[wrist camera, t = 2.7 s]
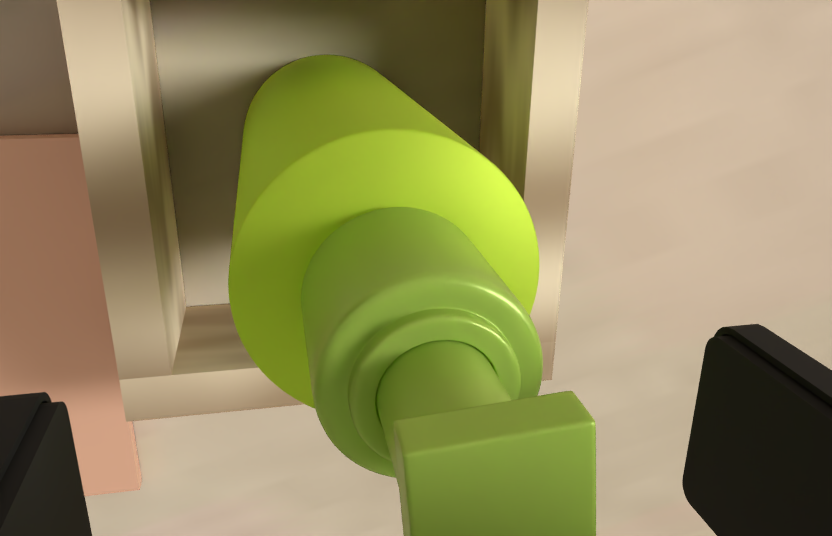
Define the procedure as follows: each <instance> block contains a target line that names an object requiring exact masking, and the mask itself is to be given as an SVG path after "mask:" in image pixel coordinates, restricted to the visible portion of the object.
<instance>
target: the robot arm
mask: <svg viewBox="0 0 832 536" xmlns="http://www.w3.org/2000/svg"><path fill="white" fill-rule="evenodd" d="M683 490H684V493H685V496H686V498H687V500H688V502H689V503H690V505H691V506H692V507H693V508H694V509H695V511H696V512H697V513H698V514H699V515H700V516H701V518H702V519H703V520H704V521H705V522H706V523H707V524H708V526H709V527H710V528H711V529H712V530H713V531H714V533H715V534H716V535H717V536H832V370H830V369H828V368H827V367H825V366H824V365H822V364H821V363H819V362H818V361H816V360H815V359H813V358H811V357H810V356H808V355H807V354H805V353H804V352H802V351H801V350H799V349H798V348H796V347H794V346H793V345H791V344H790V343H788V342H787V341H785V340H784V339H782V338H781V337H779V336H777V335H776V334H774V333H773V332H771V331H770V330H768V329H767V328H765V327H764V326H761V325H759V324H751V325H741V326H730V327H722V328H721V329H719V330H718V331H717V332H716V334H715V335H714V337H713V338H711V339H709V341H708V342H707V344H706V348H705V353H704V359H703V365H702V370H701V376H700V382H699V388H698V393H697V399H696V405H695V411H694V416H693V422H692V428H691V434H690V439H689V445H688V451H687V457H686V462H685V468H684V474H683ZM0 536H92V533H91V528H90V522H89V517H88V512H87V507H86V502H85V497H84V491H83V486H82V481H81V476H80V471H79V465H78V460H77V455H76V450H75V445H74V440H73V434H72V429H71V424H70V419H69V414H68V410H67V406H66V404H65V403H64V402H63V401H61V402H52V401H51V399H50V397H49V395H48V394H47V393H46V392H39V393H29V394H18V395H8V396H0Z"/></svg>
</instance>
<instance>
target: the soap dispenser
mask: <svg viewBox="0 0 832 536" xmlns="http://www.w3.org/2000/svg"><path fill="white" fill-rule="evenodd" d="M538 280H539V248H538V241H537V236H536V232H535V228H534V224H533V222H532V219H531V216H530V213H529V211H528V209H527V207H526V205H525V203H524V201H523V199H522V197H521V196H520V194H519V192H518V191H517V189H516V188H515V187H514V185H513V184H512V183H511V181H510V180H509V179H508V178H507V177H506V175H505V174H504V173H503V172H502V171H501V170H500V169H499V168H498V167H497V166H496V165H495V164H493V163H492V162H491V161H490V160H489V159H487V158H486V157H485V156H484V155H482V154H481V153H480V152H478V151H477V150H476V149H475V148H473V147H472V146H471V145H470V144H468V143H467V142H466V141H465V140H463V139H462V138H461V137H459V136H458V135H457V134H456V133H454V132H453V131H452V130H451V129H449V128H448V127H447V126H446V125H444V124H443V123H442V122H440V121H439V120H438V119H437V118H435V117H434V116H433V115H432V114H430V113H429V112H428V111H427V110H425V109H424V108H423V107H421V106H420V105H419V104H418V103H416V102H415V101H414V100H413V99H411V98H410V97H409V96H408V95H406V94H405V93H404V92H402V91H401V90H400V89H399V88H397V87H396V86H395V85H394V84H392V83H391V82H390V81H389V80H387V79H386V78H385V77H383V76H382V75H381V74H380V73H378V72H377V71H376V70H374V69H373V68H371V67H369V66H368V65H366V64H364V63H362V62H359V61H357V60H354V59H351V58H347V57H343V56H337V55H316V56H310V57H306V58H302V59H299V60H296V61H294V62H292V63H290V64H288V65H286V66H284V67H282V68H281V69H279V70H278V71H276V72H275V73H274V74H273V75H272V76H270V77H269V78H268V79H267V80H266V81H265V82H264V83H263V85H262V86H261V87H260V89H259V90H258V91H257V93H256V94H255V96H254V98H253V100H252V102H251V104H250V106H249V109H248V112H247V115H246V118H245V123H244V131H243V140H242V150H241V159H240V169H239V179H238V188H237V198H236V207H235V217H234V227H233V236H232V246H231V255H230V265H229V279H228V287H229V300H230V307H231V312H232V316H233V320H234V323H235V326H236V329H237V332H238V334H239V337H240V339H241V341H242V343H243V345H244V347H245V349H246V350H247V352H248V354H249V355H250V357H251V358H252V360H253V361H254V362H255V364H256V365H257V366H258V368H259V369H260V370H261V371H262V372H263V373H264V374H265V375H266V377H268V378H269V379H270V380H271V381H272V382H273V383H274V384H275V385H276V386H277V387H279V388H280V389H281V390H283V391H284V392H285V393H287V394H288V395H290V396H291V397H293V398H295V399H296V400H298V401H300V402H302V403H304V404H306V405H308V406H310V407H313V408H315V409H316V412H317V415H318V418H319V420H320V422H321V424H322V427H323V428H324V430H325V432H326V434H327V435H328V437H329V439H330V440H331V441H332V443H333V444H334V445H335V446H336V447H337V448H338V449H339V450H340V451H341V452H342V453H343V454H344V455H345V456H346V457H348V458H349V459H350V460H352V461H353V462H355V463H356V464H358V465H360V466H362V467H364V468H366V469H368V470H370V471H373V472H375V473H378V474H382V475H385V476H390V477H395V478H396V479H397V482H398V486H399V492H400V502H401V513H402V523H403V534H404V536H596V429H595V421H594V419H593V418H592V416H591V415H590V414H589V412H588V411H587V410H586V408H585V407H584V406H583V404H582V403H581V402H580V400H579V399H578V398H577V396H576V395H575V394H574V393H573V392H572V391H565V392H559V393H553V394H547V395H541V396H537V395H538V392H539V389H540V385H541V380H542V373H543V354H542V348H541V343H540V339H539V336H538V333H537V330H536V328H535V325H534V323H533V321H532V319H531V317H530V313H531V310H532V307H533V304H534V301H535V297H536V292H537V287H538Z"/></svg>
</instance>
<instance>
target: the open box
mask: <svg viewBox="0 0 832 536" xmlns="http://www.w3.org/2000/svg"><path fill="white" fill-rule="evenodd" d="M56 1H57V7H58V13H59V19H60V25H61V31H62V37H63V43H64V49H65V55H66V61H67V67H68V73H69V79H70V85H71V91H72V98H73V104H74V110H75V116H76V122H77V128H78V134H79V140H80V146H81V152H82V158H83V164H84V170H85V176H86V182H87V188H88V194H89V200H90V206H91V212H92V218H93V224H94V231H95V237H96V243H97V249H98V255H99V261H100V267H101V273H102V279H103V285H104V291H105V297H106V303H107V309H108V315H109V321H110V327H111V333H112V339H113V345H114V351H115V357H116V363H117V370H118V376H119V382H120V388H121V394H122V400H123V406H124V412H125V418H126V422H129V421H139V420H149V419H160V418H170V417H180V416H190V415H200V414H210V413H220V412H230V411H241V410H251V409H261V408H271V407H281V406H291V405H301V404H304V403H302V402H300V401H298V400H296V399H295V398H293V397H291V396H290V395H288V394H287V393H285V392H284V391H283V390H281V389H280V388H279V387H277V386H276V385H275V384H274V383H273V382H272V381H271V380H270V379H269V378H268V377H266V375H265V374H264V373H263V372H262V371H261V370H260V369H259V368H258V366H257V365H256V364H255V362H254V361H253V360H252V358H251V357H250V355H249V354H248V352H247V350H246V349H245V347H244V345H243V343H242V341H241V339H240V337H239V334H238V332H237V329H236V326H235V323H234V320H233V316H232V312H231V307H230V304H220V305H206V306H192V307H186V300H185V292H184V284H183V275H182V267H181V258H180V250H179V242H178V233H177V225H176V217H175V208H174V200H173V191H172V183H171V175H170V166H169V158H168V150H167V141H166V133H165V124H164V116H163V108H162V99H161V91H160V83H159V74H158V66H157V57H156V49H155V41H154V32H153V24H152V16H151V7H150V0H56ZM588 2H589V0H486V14H485V35H484V57H483V78H482V99H481V121H480V142H479V152H480V153H481V154H482V155H484V156H485V157H486V158H487V159H489V160H490V161H491V162H492V163H493V164H495V165H496V166H497V167H498V168H499V169H500V170H501V171H502V172H503V173H504V174H505V175H506V177H507V178H508V179H509V180H510V181H511V183H512V184H513V185H514V187H515V188H516V189H517V191H518V192H519V194H520V196H521V197H522V199H523V201H524V203H525V205H526V207H527V209H528V211H529V213H530V216H531V219H532V222H533V224H534V228H535V232H536V236H537V241H538V248H539V280H538V287H537V292H536V297H535V301H534V304H533V307H532V310H531V313H530V317H531V319H532V321H533V323H534V325H535V328H536V330H537V333H538V336H539V339H540V343H541V348H542V354H543V373H542V380H541V381H544V380H552V371H553V360H554V350H555V340H556V330H557V319H558V309H559V299H560V289H561V278H562V268H563V258H564V248H565V237H566V227H567V217H568V207H569V196H570V186H571V176H572V166H573V155H574V145H575V135H576V125H577V114H578V104H579V94H580V84H581V73H582V63H583V53H584V43H585V32H586V22H587V12H588Z"/></svg>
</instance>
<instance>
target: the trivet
mask: <svg viewBox="0 0 832 536" xmlns="http://www.w3.org/2000/svg"><path fill="white" fill-rule="evenodd" d="M39 392H46V393H47V394H48V395H49V397H50V399H51V401H52V402H61V401H63V402H64V403H65V404H66V406H67V410H68V414H69V419H70V424H71V429H72V434H73V440H74V445H75V450H76V455H77V460H78V465H79V471H80V476H81V481H82V486H83V491H84V496H90V495H99V494H107V493H116V492H124V491H133V490H140V486H141V482H142V478H141V472H140V465H139V459H138V453H137V447H136V441H135V435H134V428H133V422H132V421H129V422H126V418H125V412H124V406H123V400H122V394H121V388H120V382H119V376H118V370H117V363H116V357H115V351H114V345H113V339H112V333H111V327H110V321H109V315H108V309H107V303H106V297H105V291H104V285H103V279H102V273H101V267H100V261H99V255H98V249H97V243H96V237H95V231H94V224H93V218H92V212H91V206H90V200H89V194H88V188H87V182H86V176H85V170H84V164H83V158H82V152H81V146H80V140H79V134H49V135H10V136H0V396H8V395H18V394H29V393H39Z"/></svg>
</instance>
